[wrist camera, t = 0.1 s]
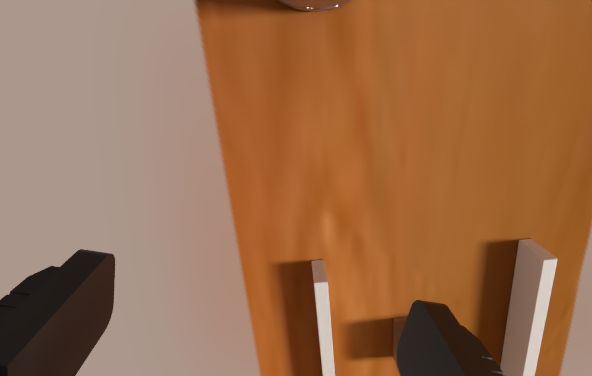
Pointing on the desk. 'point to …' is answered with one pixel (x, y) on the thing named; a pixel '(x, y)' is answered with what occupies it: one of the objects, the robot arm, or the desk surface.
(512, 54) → the desk surface
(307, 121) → the desk surface
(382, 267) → the desk surface
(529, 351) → the box
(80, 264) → the robot arm
